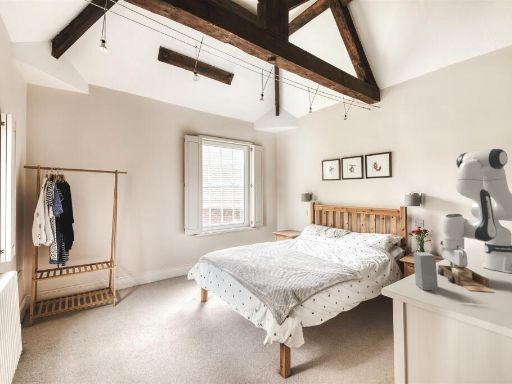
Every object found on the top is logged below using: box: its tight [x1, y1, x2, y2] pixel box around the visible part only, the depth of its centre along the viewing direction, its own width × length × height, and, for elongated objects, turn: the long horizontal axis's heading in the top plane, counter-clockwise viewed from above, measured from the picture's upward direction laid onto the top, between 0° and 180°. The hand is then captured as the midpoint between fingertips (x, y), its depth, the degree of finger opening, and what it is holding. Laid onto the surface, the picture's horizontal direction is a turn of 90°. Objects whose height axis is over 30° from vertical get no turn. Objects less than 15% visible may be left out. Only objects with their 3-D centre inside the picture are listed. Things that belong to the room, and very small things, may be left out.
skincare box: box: [413, 251, 439, 291], centre depth 120 cm, size 8×7×16 cm
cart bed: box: [437, 264, 489, 288], centre depth 129 cm, size 15×21×4 cm
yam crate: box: [452, 268, 472, 281], centre depth 129 cm, size 6×6×5 cm
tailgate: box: [461, 285, 495, 294], centre depth 116 cm, size 9×1×6 cm
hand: (453, 270), depth 137 cm, fingers closed
